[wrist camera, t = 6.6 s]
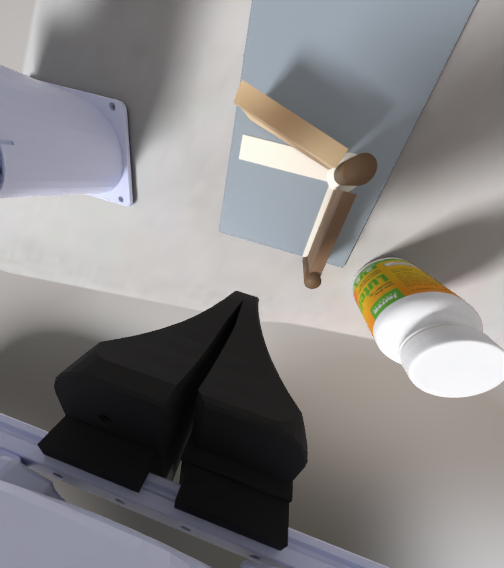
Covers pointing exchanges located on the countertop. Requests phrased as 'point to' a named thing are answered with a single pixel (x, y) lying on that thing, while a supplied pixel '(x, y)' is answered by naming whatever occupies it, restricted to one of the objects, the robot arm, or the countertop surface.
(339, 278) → the countertop surface
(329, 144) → the wooden flat block
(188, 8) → the countertop surface
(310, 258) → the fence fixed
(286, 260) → the countertop surface
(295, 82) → the card
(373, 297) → the supplement bottle
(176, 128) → the countertop surface
